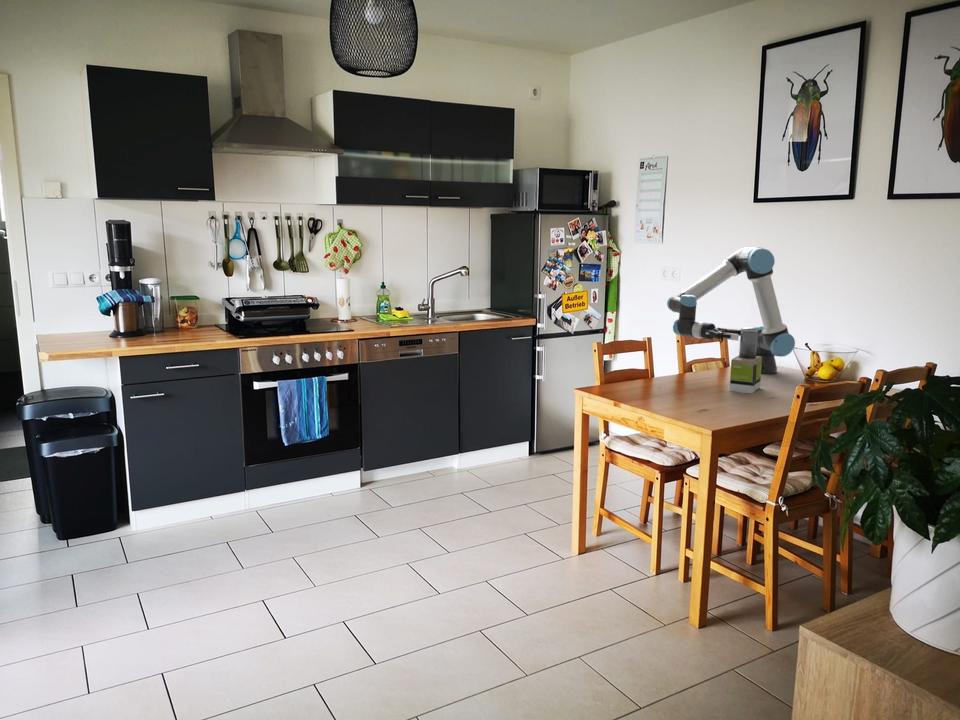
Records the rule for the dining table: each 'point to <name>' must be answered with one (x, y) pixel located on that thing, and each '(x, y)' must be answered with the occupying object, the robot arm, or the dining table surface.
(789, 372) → the dining table surface
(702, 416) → the dining table surface
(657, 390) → the dining table surface
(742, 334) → the tin canister
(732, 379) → the tea box
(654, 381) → the dining table surface
